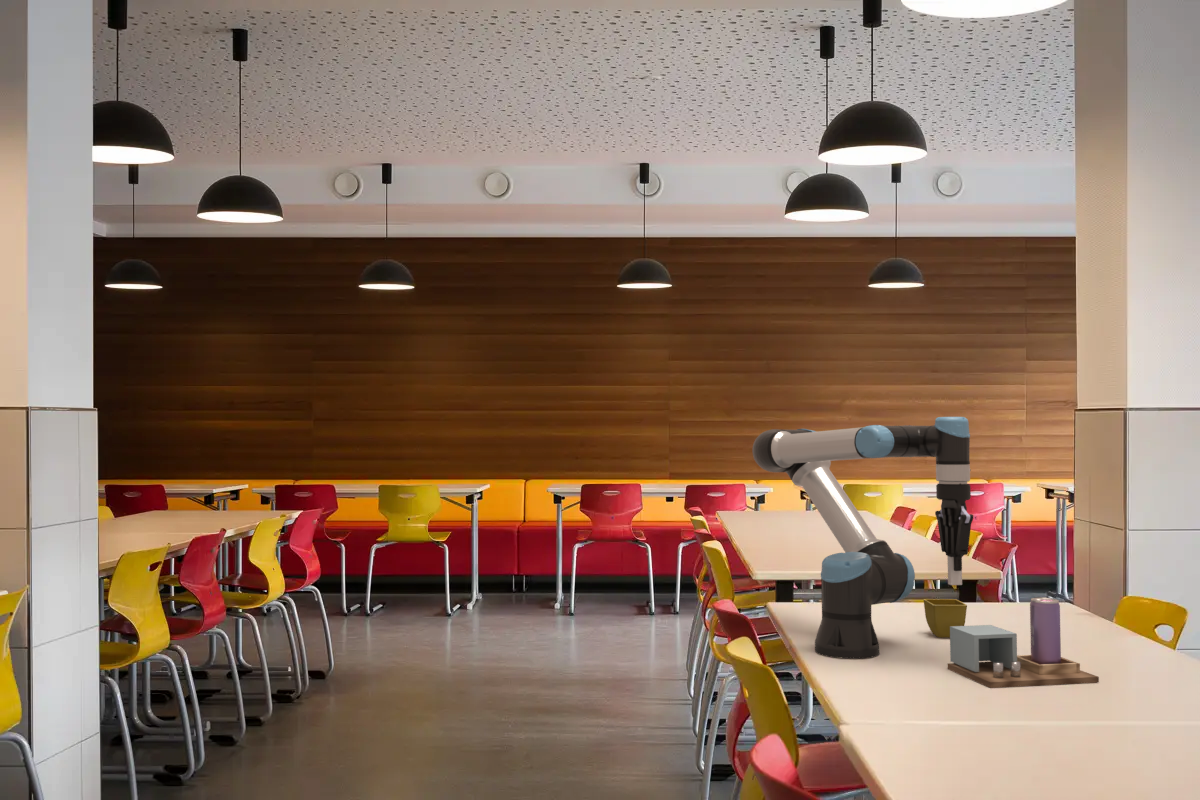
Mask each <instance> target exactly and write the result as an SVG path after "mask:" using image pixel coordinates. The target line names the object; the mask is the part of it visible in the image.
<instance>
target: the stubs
mask: <svg viewBox="0 0 1200 800" xmlns="http://www.w3.org/2000/svg"><path fill="white" fill-rule="evenodd" d="M1010 676H1011V677H1016V678H1019V677H1021V665H1020V662H1018V661H1010ZM993 677H994V678H1003V663H1002V662H993Z"/></svg>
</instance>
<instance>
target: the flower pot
mask: <svg viewBox="0 0 1200 800" xmlns="http://www.w3.org/2000/svg"><path fill="white" fill-rule="evenodd" d="M923 607H924V613H925V614H924V615H925V619H926V620H925V621H926V622H927V626H928V628H929V630H930V632H931V633H932V634H933V635H934V636H935V637H937V638H938V639H942V638H943V639H950V626H965V623H966V617H967V608H968V605H967V604H966V603H964V602H963V601H960V600H959V599H955V598H923Z"/></svg>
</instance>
